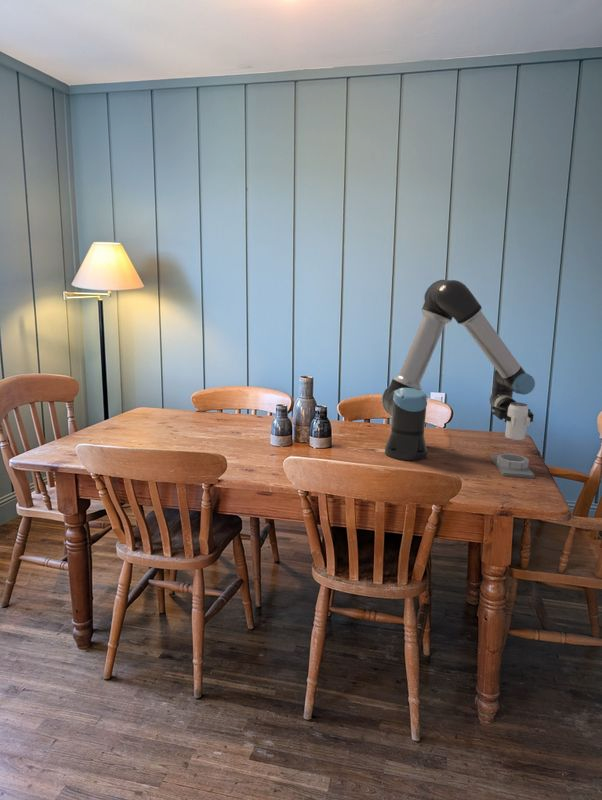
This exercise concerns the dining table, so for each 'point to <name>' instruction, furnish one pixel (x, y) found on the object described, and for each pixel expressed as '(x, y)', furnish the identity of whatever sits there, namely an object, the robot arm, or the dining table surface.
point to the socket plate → (513, 465)
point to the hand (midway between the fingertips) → (521, 422)
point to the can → (520, 428)
